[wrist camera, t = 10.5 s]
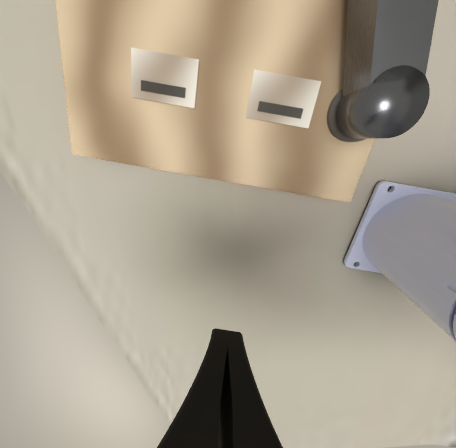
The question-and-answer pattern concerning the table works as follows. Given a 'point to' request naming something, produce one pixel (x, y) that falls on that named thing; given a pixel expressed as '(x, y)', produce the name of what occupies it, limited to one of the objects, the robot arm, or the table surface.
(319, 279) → the table surface
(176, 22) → the label board
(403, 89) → the swing bar
